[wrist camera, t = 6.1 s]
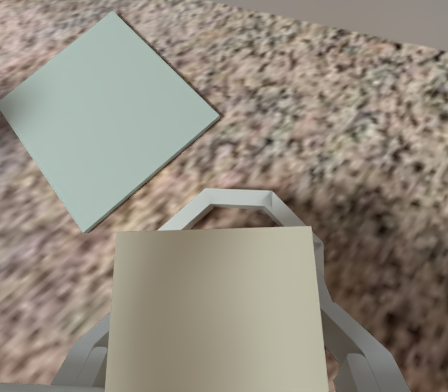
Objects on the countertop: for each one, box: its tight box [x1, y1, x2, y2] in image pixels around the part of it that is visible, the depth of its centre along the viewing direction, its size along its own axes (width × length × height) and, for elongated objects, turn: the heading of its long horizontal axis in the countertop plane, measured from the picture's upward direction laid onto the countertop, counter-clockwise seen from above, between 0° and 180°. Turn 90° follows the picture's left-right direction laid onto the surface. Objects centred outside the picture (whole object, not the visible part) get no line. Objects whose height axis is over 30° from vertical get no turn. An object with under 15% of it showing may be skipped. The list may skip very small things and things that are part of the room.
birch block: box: [105, 226, 329, 392], centre depth 11 cm, size 6×6×12 cm
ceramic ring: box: [157, 188, 324, 278], centre depth 16 cm, size 12×12×2 cm
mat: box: [0, 11, 220, 233], centre depth 21 cm, size 18×16×1 cm
